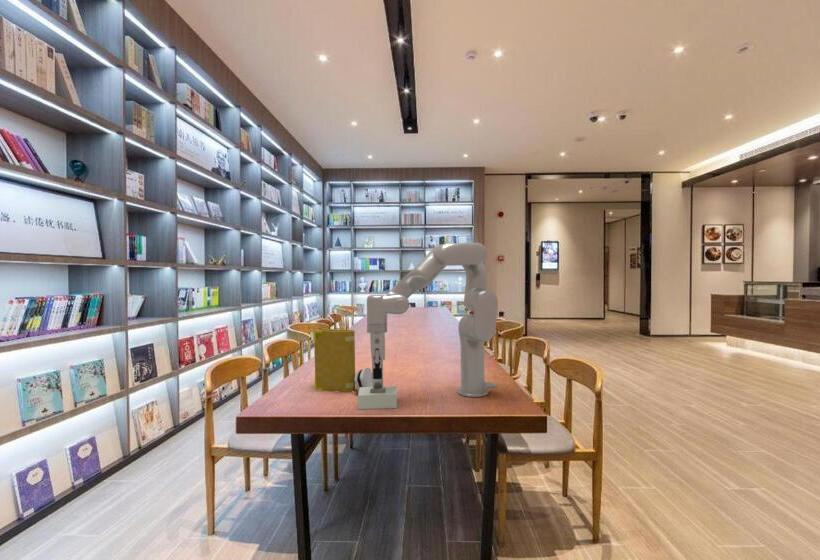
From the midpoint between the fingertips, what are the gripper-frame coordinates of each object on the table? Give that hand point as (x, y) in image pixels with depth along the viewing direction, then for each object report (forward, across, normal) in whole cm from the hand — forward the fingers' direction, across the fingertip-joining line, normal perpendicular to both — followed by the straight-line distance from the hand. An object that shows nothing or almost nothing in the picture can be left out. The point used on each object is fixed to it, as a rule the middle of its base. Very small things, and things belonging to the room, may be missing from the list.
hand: (377, 376), depth 141 cm
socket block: (+10, 0, 0) cm, 10 cm away
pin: (+4, 0, 0) cm, 4 cm away
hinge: (+11, +18, +5) cm, 21 cm away
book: (+10, +20, +18) cm, 29 cm away
